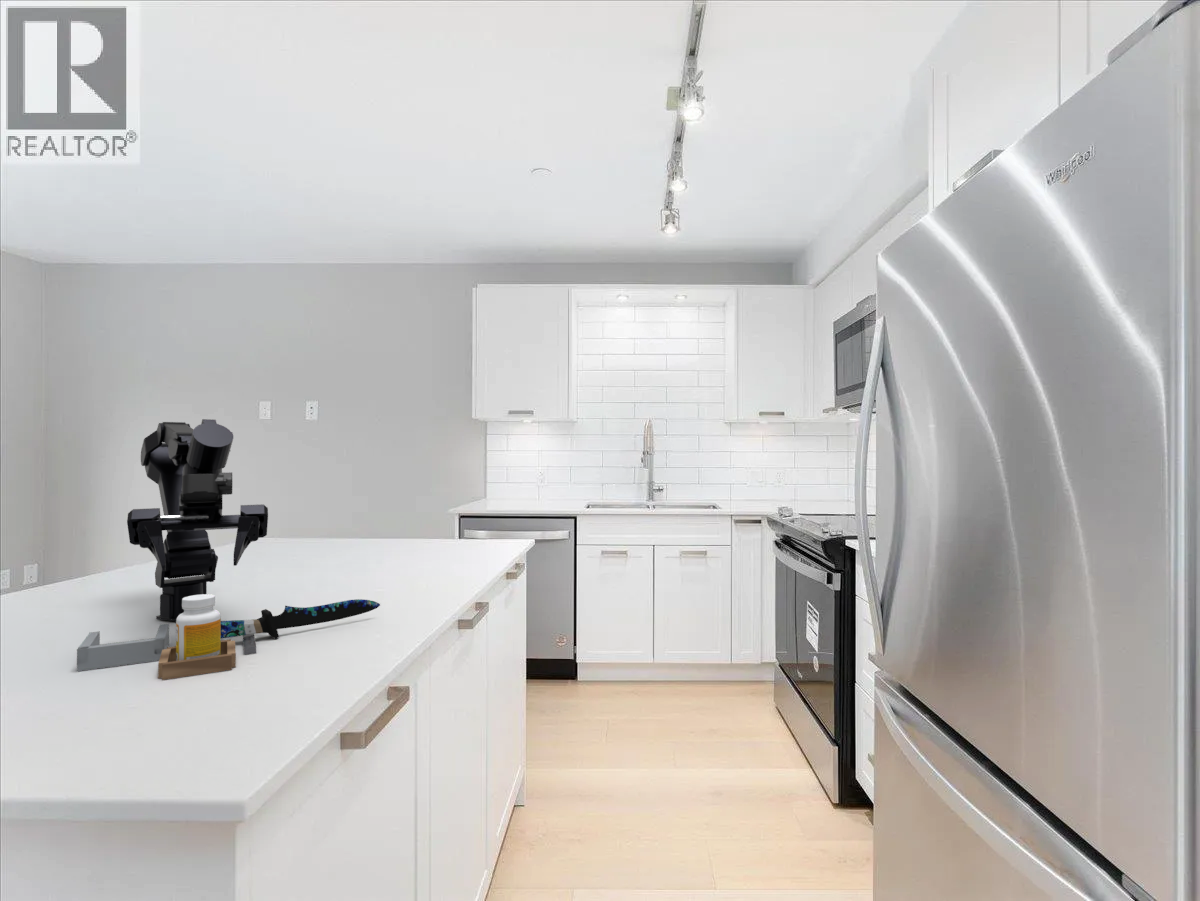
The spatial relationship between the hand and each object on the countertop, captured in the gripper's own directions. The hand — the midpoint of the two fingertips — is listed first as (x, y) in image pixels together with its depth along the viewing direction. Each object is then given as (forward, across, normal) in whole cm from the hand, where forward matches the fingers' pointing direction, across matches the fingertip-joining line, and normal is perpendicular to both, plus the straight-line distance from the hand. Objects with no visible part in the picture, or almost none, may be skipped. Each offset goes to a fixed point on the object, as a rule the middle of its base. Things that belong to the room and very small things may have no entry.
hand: (200, 566), depth 98 cm
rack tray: (+7, -9, +12) cm, 16 cm away
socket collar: (+14, 0, +4) cm, 15 cm away
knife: (+6, +13, +12) cm, 19 cm away
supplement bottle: (+14, 0, +4) cm, 15 cm away
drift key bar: (+10, +6, +9) cm, 14 cm away
